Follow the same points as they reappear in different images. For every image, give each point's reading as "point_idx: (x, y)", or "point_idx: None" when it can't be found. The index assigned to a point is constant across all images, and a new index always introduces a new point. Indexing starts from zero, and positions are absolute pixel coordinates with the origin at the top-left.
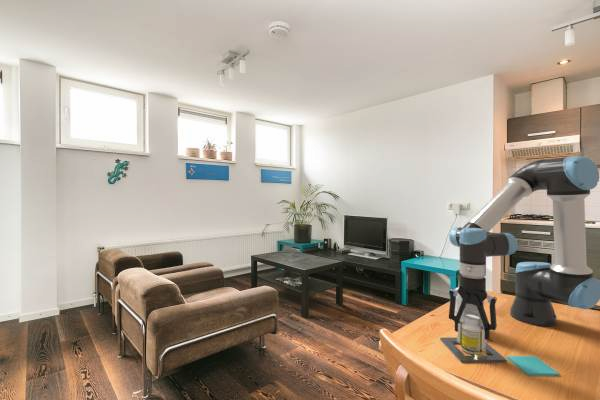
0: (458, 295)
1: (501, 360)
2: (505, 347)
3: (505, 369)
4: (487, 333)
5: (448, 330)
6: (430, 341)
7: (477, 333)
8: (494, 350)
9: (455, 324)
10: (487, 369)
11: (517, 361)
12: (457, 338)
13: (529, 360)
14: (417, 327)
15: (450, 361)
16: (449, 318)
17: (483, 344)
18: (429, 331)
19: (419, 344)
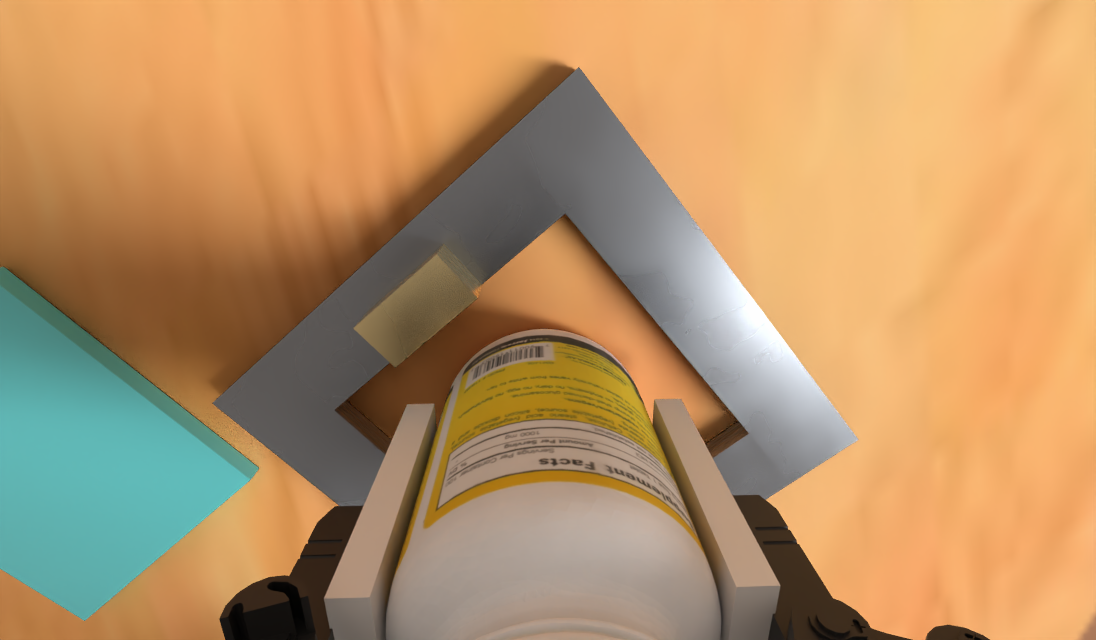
0: None
1: (253, 367)
2: None
3: (189, 246)
4: (310, 582)
5: None
6: (938, 329)
7: (439, 502)
8: None
9: (805, 576)
10: (315, 115)
11: (143, 442)
12: None
13: (82, 523)
14: (1079, 529)
15: (683, 4)
16: (977, 633)
17: (400, 441)
18: (959, 522)
19: (1056, 177)
